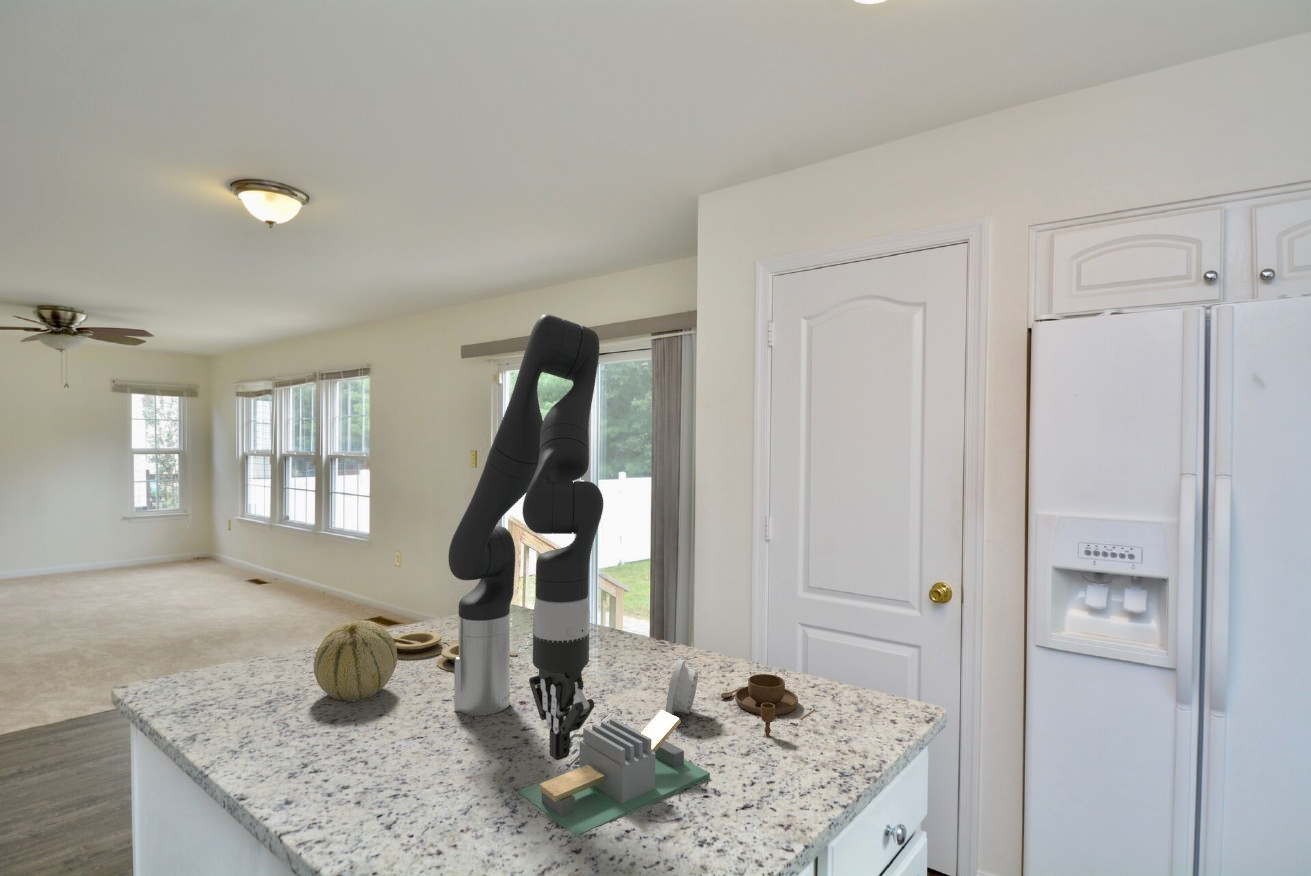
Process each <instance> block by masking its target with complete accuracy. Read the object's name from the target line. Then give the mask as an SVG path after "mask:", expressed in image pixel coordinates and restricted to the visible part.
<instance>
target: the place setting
mask: <svg viewBox="0 0 1311 876" xmlns="http://www.w3.org/2000/svg"><path fill="white" fill-rule="evenodd" d="M747 681H748V682H747V683H748V684H747V686H741V687H738V688H736V689H734V690H732V691H729V692H728V691H727V692H723V693H721V694H720V697H721V698H723V699H728V698H732V696H733V694H734V698H735V703H737V705H738V707H740V708H741V709H742V710H745V711H746V712H748V711H749V712H748V713H751V714H756V715H760V717H761V720H762V721H763V722H764V724H765V727H764V729H763V730H764V733H765V735H764V736H765V737H771V732H772V729H771V723H773V722H774V720H775V716H782V715H786V714H789V713H791V712H793V711H795V709H796V708H797V707H798V704H799V697H798V696H797V694H795V692H794V691H792V690H789V689H787V688H786V682H785V679H783V678H782V677H780V676H778V675H774V674H767V673H760V674H753V675H750V676H749V677H748V679H747ZM815 711H816V709H814V708H813V710H811V711H809V712H808V713H806V714H805V715H803V717H800V718H799V721H802V720H804V719H806V718H807V717H808V716H810V715H811V714H812V713H814V712H815ZM791 725H794V726H799V723H794V721H793V722H791Z"/></svg>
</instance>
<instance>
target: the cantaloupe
mask: <svg viewBox="0 0 1311 876" xmlns="http://www.w3.org/2000/svg"><path fill="white" fill-rule="evenodd" d="M391 636H392V635H391V634H390V632H389V631H387V630H386V628H385V627H384V626H382V625H381V624H378V623H376V622H374V621H371V620H354V621H349V622H347V623H346V622H345V623H343V624H341V625H340V626H339V625H338V626H337V627H336V628H334V629H332V630H331V631H329V633H328V634H327V635H326V636H325V637H324V639H323V640H322V641H321V643H320V645H319V646H318V648H317V650H316V652H315V655H314V659H313V660H314V661H313V674H314V676H315V681H316V682H317V684H318V686H319V687H320V690H322V691H324V692H325V694H326V695H328V696H330V697H331V698H333V699H335V700H338V701H345V702H346V701H347V702H354V701H356V702H357V701H359V700H364V699H367V698H369V697H372V696H374V695H375V694H377V693H378V692H380V691H381V690H383V688H385V686H386V685H387V684H388V683H389V681H390V680H391V678H392V677H393V675H394V673H395V670H396V667H397V663H398V659H397V647H396V644H395V642H394V640H393V638H392V637H393V636H392V637H391Z"/></svg>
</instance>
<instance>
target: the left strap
mask: <svg viewBox="0 0 1311 876" xmlns="http://www.w3.org/2000/svg"><path fill="white" fill-rule="evenodd" d="M577 768H578V767H577ZM572 770H573V769H572ZM567 772H568V771H567ZM604 781H605V775H603V774H601V773H600V772H598V771H597V770H595V769H594V768H592V767H591V766H589V765H586V766H583V767H581V768H578V769H576V770H573V771H571V772H568V773H566V774H563V775H561V776H558V777H556V778H553V779H551V780H548V781H546V782H543V783H541V784H539V790H540V791H541V792H543V793H544V794H545V795H547V796H548V797H549V798H551V799H552V800H553V801H555V802H557V801H560V800H562V799H564V798H567V797H569V796H571V795H574V794H576V793H578V792H581V791H583V790H585V789H588V788H590V787H592V786H595V785H597V784H599V783H602V782H604Z"/></svg>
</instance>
